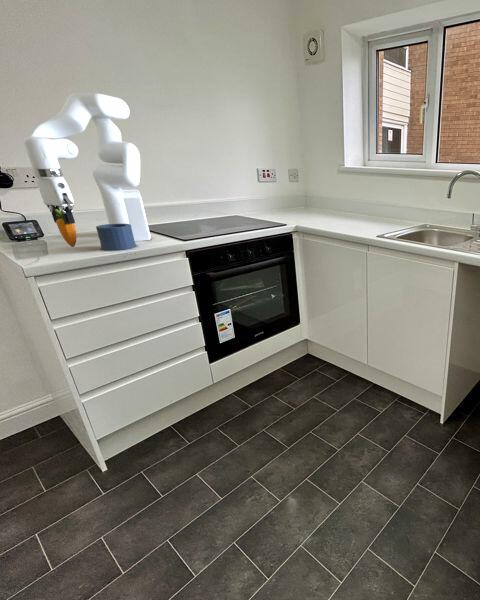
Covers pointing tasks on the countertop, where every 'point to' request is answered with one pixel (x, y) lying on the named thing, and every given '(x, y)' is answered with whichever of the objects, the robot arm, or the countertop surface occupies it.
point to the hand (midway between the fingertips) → (64, 222)
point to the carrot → (66, 229)
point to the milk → (136, 215)
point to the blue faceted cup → (116, 236)
